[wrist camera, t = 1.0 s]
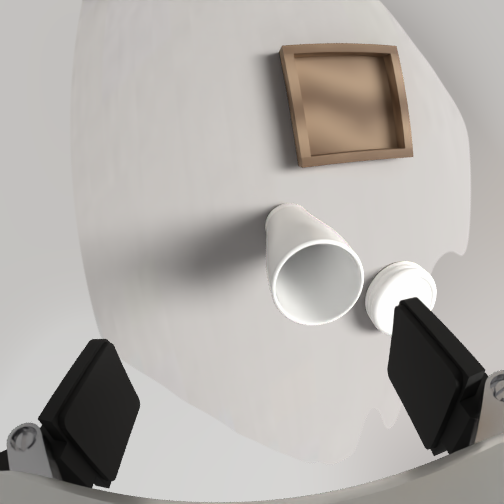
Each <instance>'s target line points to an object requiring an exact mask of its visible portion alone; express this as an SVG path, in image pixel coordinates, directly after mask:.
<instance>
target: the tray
mask: <svg viewBox="0 0 504 504" xmlns="http://www.w3.org/2000/svg"><path fill="white" fill-rule="evenodd" d="M279 54H280V59H281V65H282V70H283V75H284V80H285V86H286V91H287V97H288V103H289V109H290V115H291V121H292V127H293V133H294V140H295V146H296V153H297V160H298V166H300V167H302V168H304V167H312V166H320V165H328V164H337V163H346V162H356V161H366V160H377V159H390V158H404V157H413V147H412V137H411V127H410V119H409V112H408V104H407V98H406V92H405V86H404V80H403V75H402V70H401V65H400V60H399V55H398V51H397V47H396V46H389V45H375V44H349V43H327V44H300V45H286V46H282V47H281V49H280V51H279Z"/></svg>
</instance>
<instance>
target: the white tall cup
mask: <svg viewBox="0 0 504 504" xmlns="http://www.w3.org/2000/svg"><path fill="white" fill-rule="evenodd" d="M265 232H266V273H267V279H268V284H269V288H270V291H271V294H272V298H273V301H274V303H275V305H276V307H277V309H278V310H279V311H280V312H281V313H282V314H283V315H284V316H285V317H286V318H288V319H289V320H291V321H293V322H296V323H298V324H302V325H322V324H326V323H329V322H332V321H334V320H336V319H338V318H340V317H341V316H343V315H344V314H345V313H347V312H348V311H349V310H350V309H351V308H352V307H353V305H354V304H355V303H356V301H357V299H358V298H359V296H360V294H361V291H362V287H363V282H364V272H363V267H362V264H361V261H360V259H359V258H358V256H357V255H356V253H355V252H354V251H353V249H352V248H351V247H350V245H349V244H348V243H347V242H346V241H345V240H344V239H343V238H342V237H341V236H340V235H339V234H338V233H337V232H336V231H335V230H334V229H332V228H331V227H330V226H328V225H327V224H325V223H324V222H322V221H321V220H319V219H318V218H316V217H315V216H313V215H312V214H310V213H309V212H308V211H307V210H306V209H305V208H303V207H302V206H300V205H297V204H293V203H286V204H282V205H279V206H277V207H276V208H274V209H273V210H272V211H271V212H270V214H269V215H268V217H267V219H266V223H265Z"/></svg>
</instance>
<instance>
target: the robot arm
mask: <svg viewBox="0 0 504 504" xmlns="http://www.w3.org/2000/svg"><path fill="white" fill-rule="evenodd" d="M388 376H389V379H390V381H391V383H392V384H393V386H394V388H395V390H396V392H397V394H398V396H399V397H400V399H401V401H402V403H403V405H404V407H405V409H406V411H407V413H408V415H409V416H410V418H411V420H412V423H413V424H414V426H415V428H416V430H417V432H418V434H419V436H420V439H421V440H422V442H423V444H424V446H425V448H426V449H431V451H432V453H433V455H434V456H435V455H438V454H440V453H442V452H445V451H448V453H449V455H447V456H445V457H442V458H440V459H438V460H435V461H432V462H430V463H427V464H425V465H422V466H419V467H416V468H414V469H411V470H408V471H405V472H402V473H399V474H396V475H393V476H389V477H386V478H383V479H379V480H376V481H373V482H369V483H365V484H361V485H357V486H353V487H349V488H345V489H340V490H336V491H330V492H325V493H320V494H314V495H307V496H301V497H294V498H286V499H277V500H266V501H252V502H226V503H225V502H223V503H220V502H219V503H218V502H215V503H212V502H209V503H208V502H185V501H170V500H158V499H150V498H142V497H135V496H129V495H123V494H117V493H112V492H107V491H102V490H97V489H92V486H93V484H95V485H96V486H101V487H105V488H109V487H110V484H111V481H114V480H115V478H116V476H117V473H118V469H119V467H120V464H121V460H122V458H123V455H124V452H125V449H126V445H127V443H128V440H129V437H130V434H131V431H132V428H133V425H134V422H135V420H136V417H137V414H138V411H139V408H140V401H139V398H138V396H137V394H136V392H135V390H134V388H133V386H132V384H131V382H130V380H129V378H128V376H127V373H126V371H125V369H124V367H123V365H122V363H121V361H120V358H119V356H118V354H117V351H116V349H115V347H114V345H113V344H112V343H110V342H109V341H108V340H107V339H92V340H90V341H89V343H88V344H87V345H86V347H85V349H84V350H83V351H82V352H81V354H80V355H79V357H78V358H77V360H76V361H75V363H74V364H73V365H72V367H71V368H70V370H69V371H68V373H67V374H66V376H65V377H64V379H63V380H62V382H61V383H60V385H59V386H58V388H57V389H56V391H55V392H54V394H53V395H52V397H51V398H50V400H49V402H48V403H47V405H46V406H45V408H44V409H43V411H42V413H41V414H40V416H39V418H38V420H39V421H40V422H41V424H42V426H41V428H39V427H38V426H37V425H36V424H33V423H24V424H21V425H19V426H17V427H16V428H15V429H13V430H12V432H11V433H10V435H9V436H8V439H7V450H5V451H3V452H0V504H504V370H501V371H497V372H494V373H493V374H491V375H490V376H489V377H488V376H487V374H486V373H485V369H484V368H483V367H482V365H481V364H480V363H479V362H478V361H477V360H476V359H475V357H473V356H472V354H471V353H470V352H469V351H468V350H467V349H466V347H464V345H463V344H462V343H461V342H460V341H459V340H458V339H457V338H456V337H455V336H454V334H453V333H452V332H450V330H449V329H448V328H447V327H446V326H445V325H444V324H443V323H442V322H441V321H440V320H439V319H438V318H437V317H436V316H435V315H434V314H433V313H432V312H431V311H430V310H429V308H428V307H427V306H426V305H425V304H424V303H423V302H422V301H421V300H420V299H419V298H417V297H413V298H409V299H404V300H401V301H400V302H399V305H398V306H395V308H394V318H393V328H392V338H391V346H390V354H389V362H388Z"/></svg>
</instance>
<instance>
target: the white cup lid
mask: <svg viewBox="0 0 504 504" xmlns="http://www.w3.org/2000/svg"><path fill="white" fill-rule="evenodd" d="M413 297H417V298H419V299H420V300H421V301H422V302H423V303H424V304H425V305H426V306H427V307H428V308H429V310H430V311H431V310H432V308H433V306H434V303H435V300H436V285H435V282H434V280H433V278H432V276H431V275H430V274H429V273H428V272H426V271H425V270H424V269H423V268H422V267H421V266H419V265H418V264H416V263H414V262H410V261H400V262H396V263H393V264H391V265H389V266H387V267H386V268H384V269H383V270H382V271H381V272H379V273H378V274H377V275H376V277H375V278H374V279H373V281H372V282H371V284H370V286H369V288H368V290H367V293H366V297H365V307H366V311H367V314H368V316H369V317H370V319H371V321H372V322H373V323H374V325H375V327H376V328H377V329H378V330H379V331H381V332H382V333H384V334H386V335H391V336H392V328H393V318H394V308H395V306H398V305H399V302H400V301H401V300H404V299H409V298H413Z"/></svg>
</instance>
